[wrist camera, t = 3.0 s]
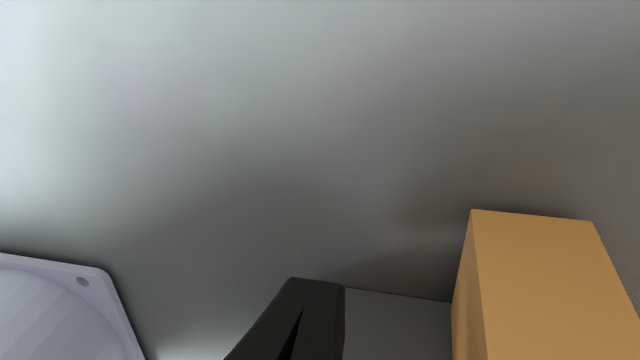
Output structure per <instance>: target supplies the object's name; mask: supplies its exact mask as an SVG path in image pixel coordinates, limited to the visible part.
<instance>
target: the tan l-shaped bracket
mask: <svg viewBox="0 0 640 360" xmlns="http://www.w3.org/2000/svg"><path fill="white" fill-rule="evenodd" d="M451 331H452V358H453V360H640V319H639V317H638V315H637V313H636V311H635V309H634V307H633V305H632V303H631V300H630V298H629V296H628V294H627V292H626V290H625V288H624V286H623V284H622V282H621V280H620V278H619V276H618V274H617V272H616V270H615V267H614V265H613V263H612V261H611V259H610V257H609V255H608V253H607V251H606V249H605V247H604V245H603V243H602V241H601V239H600V237H599V234H598V232H597V230H596V228H595V226H594V224H593V222H592V221H584V220H575V219H565V218H556V217H546V216H536V215H527V214H517V213H508V212H498V211H488V210H479V209H471V211H470V216H469V221H468V226H467V231H466V236H465V241H464V246H463V251H462V256H461V260H460V265H459V270H458V275H457V280H456V285H455V290H454V295H453V300H452V305H451Z"/></svg>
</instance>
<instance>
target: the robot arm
mask: <svg viewBox="0 0 640 360" xmlns="http://www.w3.org/2000/svg"><path fill="white" fill-rule="evenodd" d="M344 341H345V288H344V287H343V286H342V285H341V284H338V283H331V282H324V281H317V280H310V279H304V278H297V277H291V278H289V279H288V280H287V281H286V282H285V284H284V285H283V287H282V288H281V290H280V291H279V292H278V294H277V295H276V296H275V298H274V299H273V300H272V302H271V303H270V304H269V306H268V307H267V308H266V310H265V311H264V312H263V313H262V315H261V316H260V317H259V318H258V320H257V321H256V322H255V323H254V325H253V326H252V327H251V328H250V329H249V331H248V332H247V333H246V334H245V335H244V337H243V338H242V339H241V340H240V341H239V342H238V344H237V345H236V346H235V347H234V348H233V349H232V351H231V352H230V353H229V354H228V355H227V356H226V357H225V358H224V359H223V360H342V357H343V349H344ZM0 360H145V358H144V356H143V353H142V351H141V349H140V346H139V344H138V341H137V339H136V337H135V334H134V332H133V330H132V327H131V325H130V323H129V320H128V318H127V315H126V313H125V311H124V308H123V306H122V304H121V301H120V299H119V296H118V294H117V292H116V289H115V287H114V285H113V282H112V280H111V278H110V276H109V275H108V274H107V273H106V272H105V271H103V270H102V269H99V268H94V267H88V266H82V265H75V264H69V263H63V262H56V261H50V260H44V259H37V258H31V257H25V256H18V255H12V254H6V253H0Z"/></svg>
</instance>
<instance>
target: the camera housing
mask: <svg viewBox="0 0 640 360" xmlns="http://www.w3.org/2000/svg"><path fill="white" fill-rule="evenodd" d="M344 288H345V341H344V349H343V357H342V360H453V358H452V331H451V305H452V303H448V302H441V301H434V300H428V299H421V298H414V297H408V296H401V295H394V294H387V293H381V292H374V291H367V290H360V289H354V288H347V287H344Z"/></svg>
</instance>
